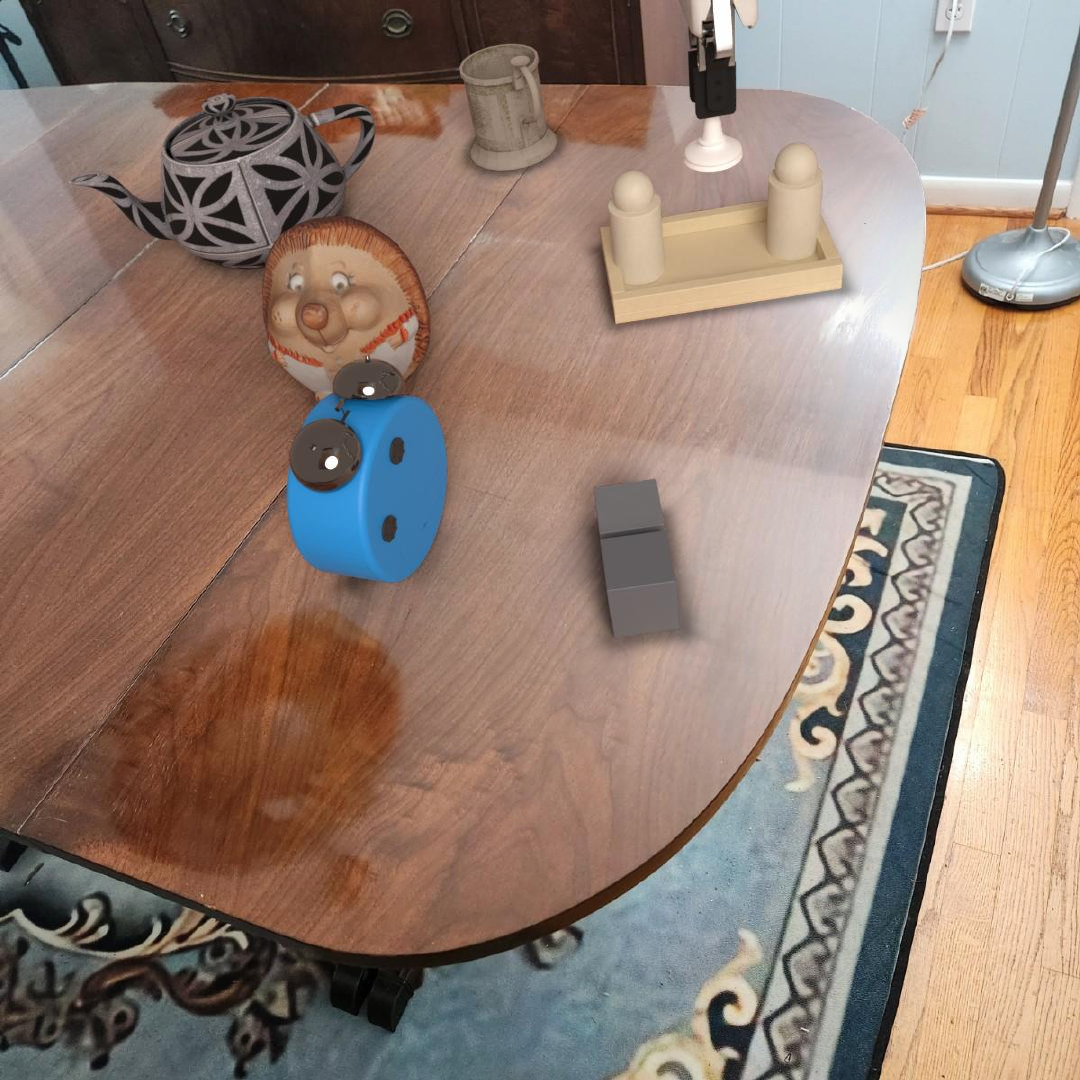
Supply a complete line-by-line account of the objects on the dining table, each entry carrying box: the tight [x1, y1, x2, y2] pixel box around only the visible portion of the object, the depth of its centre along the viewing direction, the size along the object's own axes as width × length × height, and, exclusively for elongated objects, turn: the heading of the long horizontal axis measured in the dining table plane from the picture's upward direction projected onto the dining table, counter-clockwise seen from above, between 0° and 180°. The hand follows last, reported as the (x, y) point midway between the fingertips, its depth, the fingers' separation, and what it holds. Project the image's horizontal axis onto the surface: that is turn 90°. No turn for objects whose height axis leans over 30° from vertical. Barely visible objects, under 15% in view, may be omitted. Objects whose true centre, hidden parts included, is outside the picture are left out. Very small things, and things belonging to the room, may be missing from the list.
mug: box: [458, 43, 558, 172], centre depth 108 cm, size 14×10×12 cm
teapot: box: [68, 92, 376, 270], centre depth 103 cm, size 19×31×15 cm, turn 112°
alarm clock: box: [286, 355, 448, 584], centre depth 70 cm, size 13×6×15 cm, turn 162°
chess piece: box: [683, 37, 744, 173], centre depth 81 cm, size 5×5×10 cm
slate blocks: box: [593, 478, 680, 639], centre depth 69 cm, size 4×10×5 cm, turn 3°
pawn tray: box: [599, 142, 845, 325], centre depth 89 cm, size 20×12×11 cm, turn 93°
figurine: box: [261, 215, 431, 403], centre depth 85 cm, size 14×16×15 cm
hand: (712, 104), depth 81 cm, fingers closed on chess piece
